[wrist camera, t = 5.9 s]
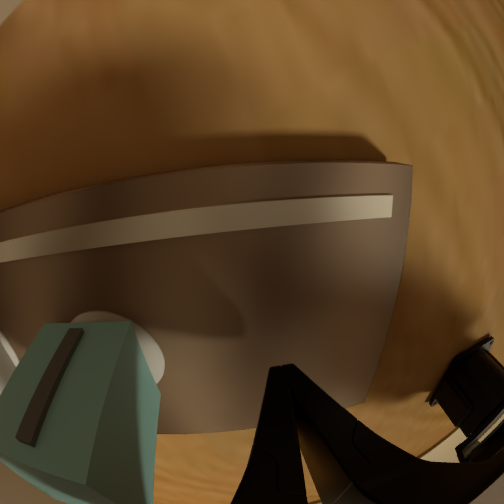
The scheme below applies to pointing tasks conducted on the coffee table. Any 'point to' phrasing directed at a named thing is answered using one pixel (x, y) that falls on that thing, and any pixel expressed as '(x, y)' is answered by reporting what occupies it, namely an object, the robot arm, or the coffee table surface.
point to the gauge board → (218, 277)
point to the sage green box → (83, 415)
